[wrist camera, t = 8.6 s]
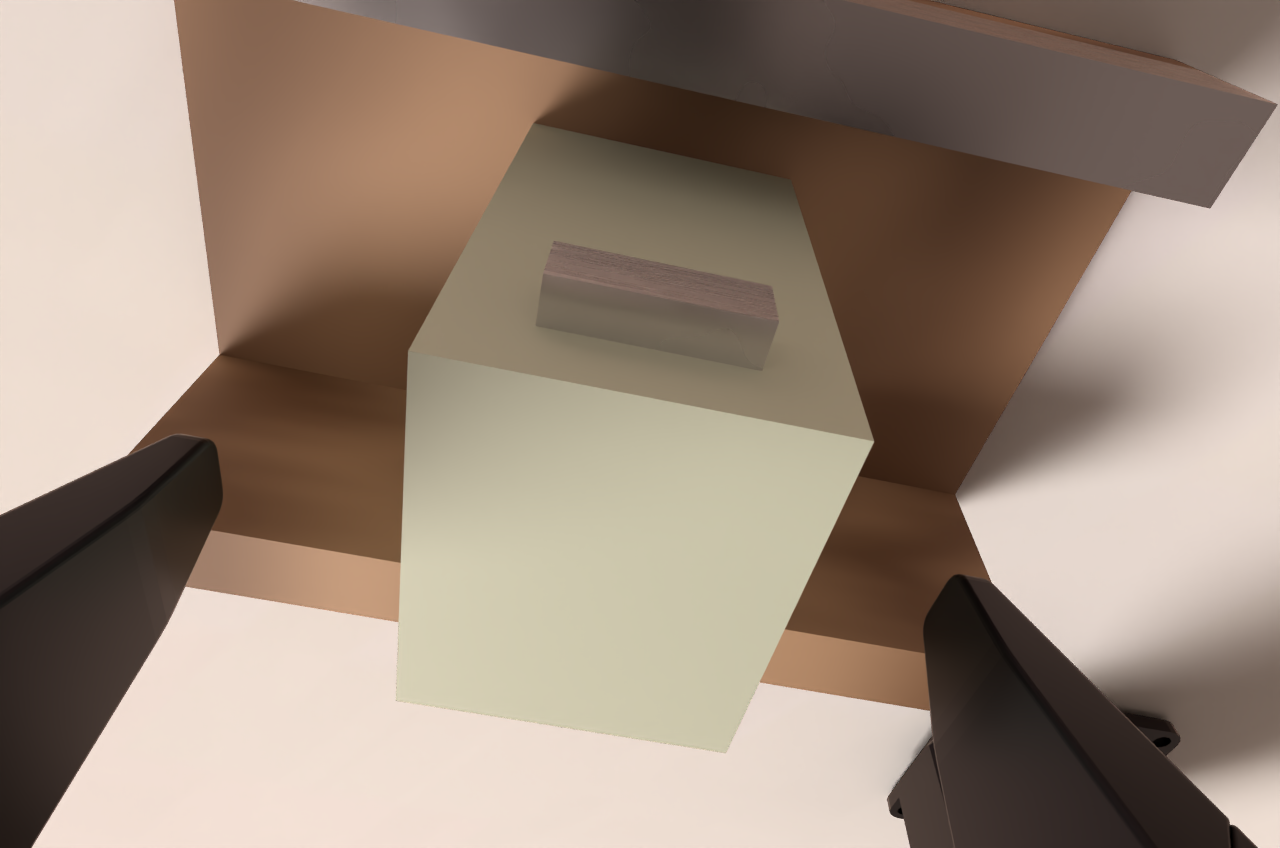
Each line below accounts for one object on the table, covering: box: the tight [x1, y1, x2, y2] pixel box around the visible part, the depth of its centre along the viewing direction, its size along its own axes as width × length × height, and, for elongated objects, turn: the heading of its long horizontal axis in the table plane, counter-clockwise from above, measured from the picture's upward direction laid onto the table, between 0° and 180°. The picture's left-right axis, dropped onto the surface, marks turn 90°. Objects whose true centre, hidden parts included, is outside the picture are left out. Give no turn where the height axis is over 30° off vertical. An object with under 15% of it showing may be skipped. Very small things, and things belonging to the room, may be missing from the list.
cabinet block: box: [396, 123, 874, 753], centre depth 12 cm, size 4×6×8 cm
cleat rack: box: [128, 0, 1278, 711], centre depth 13 cm, size 16×10×6 cm, turn 79°
